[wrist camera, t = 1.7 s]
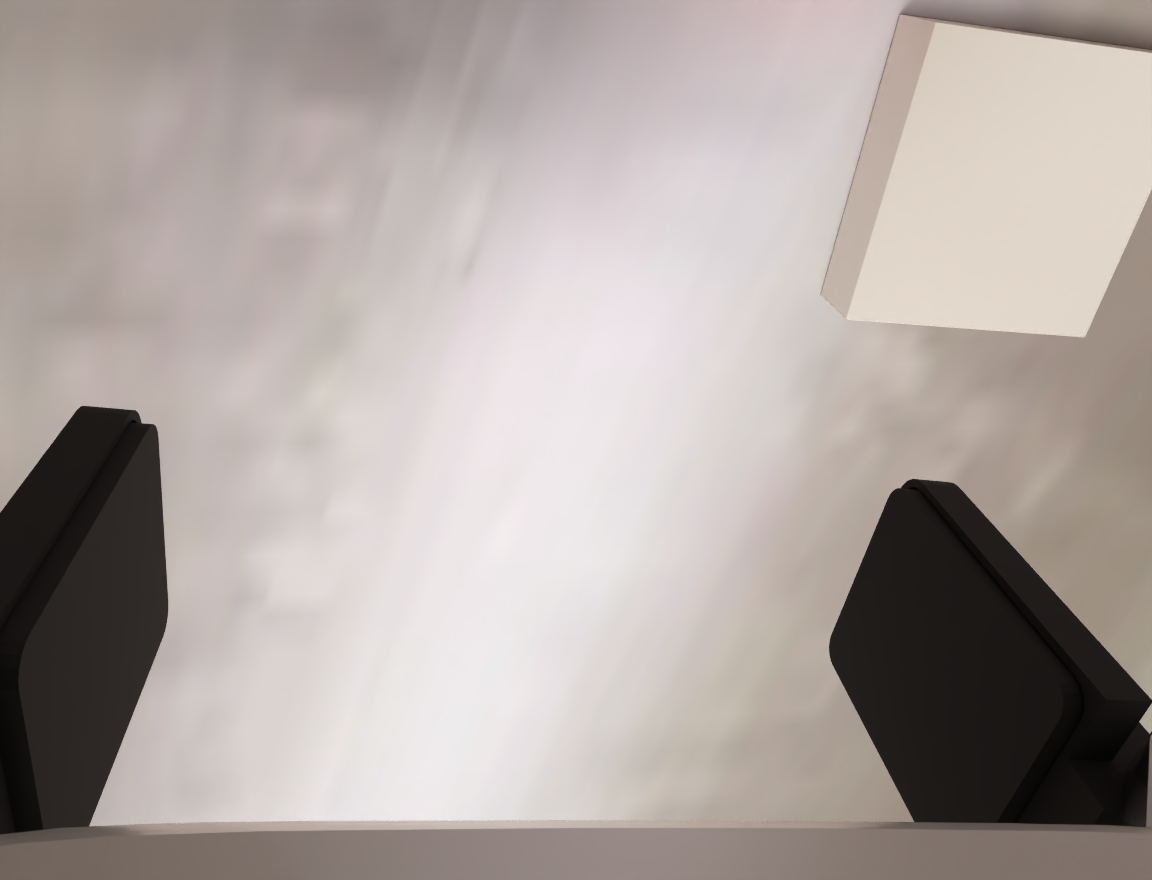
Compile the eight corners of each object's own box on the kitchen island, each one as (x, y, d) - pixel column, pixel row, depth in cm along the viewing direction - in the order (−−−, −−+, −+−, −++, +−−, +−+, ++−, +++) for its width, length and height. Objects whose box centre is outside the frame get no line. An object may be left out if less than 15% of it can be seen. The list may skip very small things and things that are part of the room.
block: (899, 14, 30) (936, 22, 28) (1157, 51, 32) (1209, 61, 29) (820, 294, 35) (845, 319, 33) (1046, 312, 36) (1084, 337, 34)
